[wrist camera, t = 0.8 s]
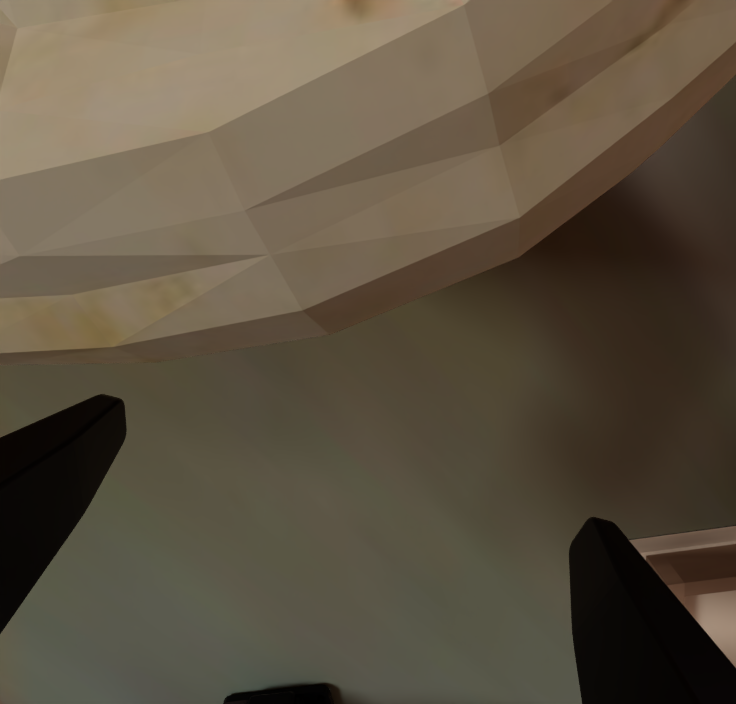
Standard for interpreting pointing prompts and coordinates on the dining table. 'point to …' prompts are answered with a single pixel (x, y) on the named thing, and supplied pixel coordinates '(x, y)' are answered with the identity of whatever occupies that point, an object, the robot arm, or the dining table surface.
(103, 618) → the dining table surface
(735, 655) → the brown wooden tray
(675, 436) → the dining table surface
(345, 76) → the food model
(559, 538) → the dining table surface
